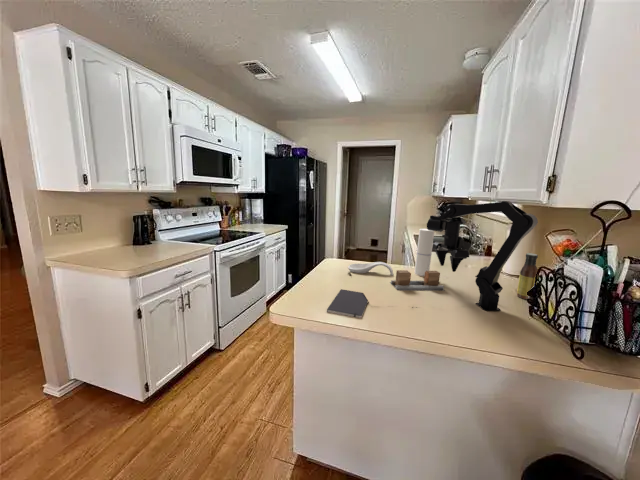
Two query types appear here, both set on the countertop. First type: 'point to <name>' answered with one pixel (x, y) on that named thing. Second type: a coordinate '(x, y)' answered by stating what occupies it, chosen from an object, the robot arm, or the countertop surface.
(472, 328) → the countertop surface
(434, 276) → the brown wooden block
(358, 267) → the spoon rest
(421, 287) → the rail
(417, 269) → the cylindrical container
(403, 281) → the fixed walnut finger
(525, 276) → the sauce bottle
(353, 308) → the notebook
